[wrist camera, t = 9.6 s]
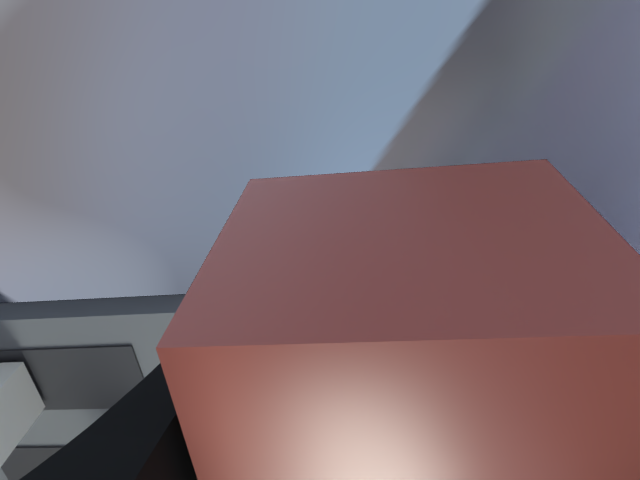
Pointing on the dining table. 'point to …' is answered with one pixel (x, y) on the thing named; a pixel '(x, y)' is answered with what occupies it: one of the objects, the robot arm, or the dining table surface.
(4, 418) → the block
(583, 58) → the dining table surface
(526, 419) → the reddish pink cube
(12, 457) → the breaker board
